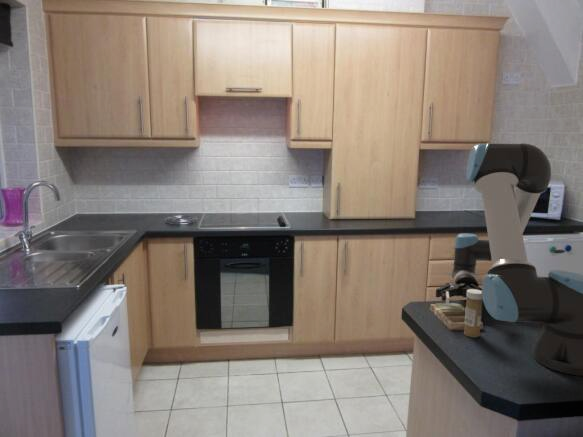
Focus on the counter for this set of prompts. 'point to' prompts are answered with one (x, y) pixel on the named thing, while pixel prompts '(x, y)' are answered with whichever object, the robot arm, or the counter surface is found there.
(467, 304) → the sprinkles bottle
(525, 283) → the robot arm
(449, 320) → the slotted wooden board
